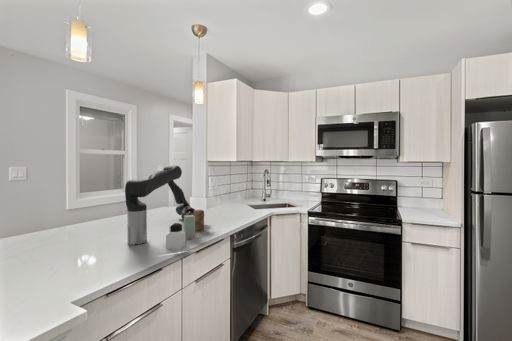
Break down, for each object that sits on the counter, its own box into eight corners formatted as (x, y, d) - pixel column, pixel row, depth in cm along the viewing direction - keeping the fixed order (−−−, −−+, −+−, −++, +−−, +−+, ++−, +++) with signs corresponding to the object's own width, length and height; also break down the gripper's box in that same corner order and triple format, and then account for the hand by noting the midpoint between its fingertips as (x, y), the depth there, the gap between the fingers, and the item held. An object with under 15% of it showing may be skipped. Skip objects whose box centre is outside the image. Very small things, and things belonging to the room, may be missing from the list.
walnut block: (196, 231, 155) (195, 211, 154) (193, 229, 159) (193, 210, 159) (204, 230, 157) (204, 211, 157) (201, 228, 162) (201, 209, 161)
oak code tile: (182, 242, 137) (182, 241, 137) (178, 237, 145) (178, 236, 145) (200, 239, 141) (200, 238, 141) (195, 234, 150) (195, 233, 150)
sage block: (186, 239, 140) (186, 217, 139) (183, 236, 144) (183, 215, 144) (195, 237, 142) (195, 216, 142) (192, 235, 147) (192, 214, 146)
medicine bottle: (185, 245, 131) (185, 222, 131) (179, 250, 124) (179, 225, 124) (172, 245, 132) (171, 221, 131) (165, 249, 125) (165, 225, 124)
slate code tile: (193, 234, 151) (193, 233, 151) (188, 230, 160) (188, 229, 160) (209, 231, 156) (209, 230, 156) (204, 228, 165) (204, 227, 165)
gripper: (178, 208, 173) (184, 212, 159) (199, 206, 180) (206, 210, 166) (178, 219, 174) (184, 224, 159) (199, 216, 181) (206, 221, 167)
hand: (195, 217), depth 163 cm, fingers open, 8 cm apart
